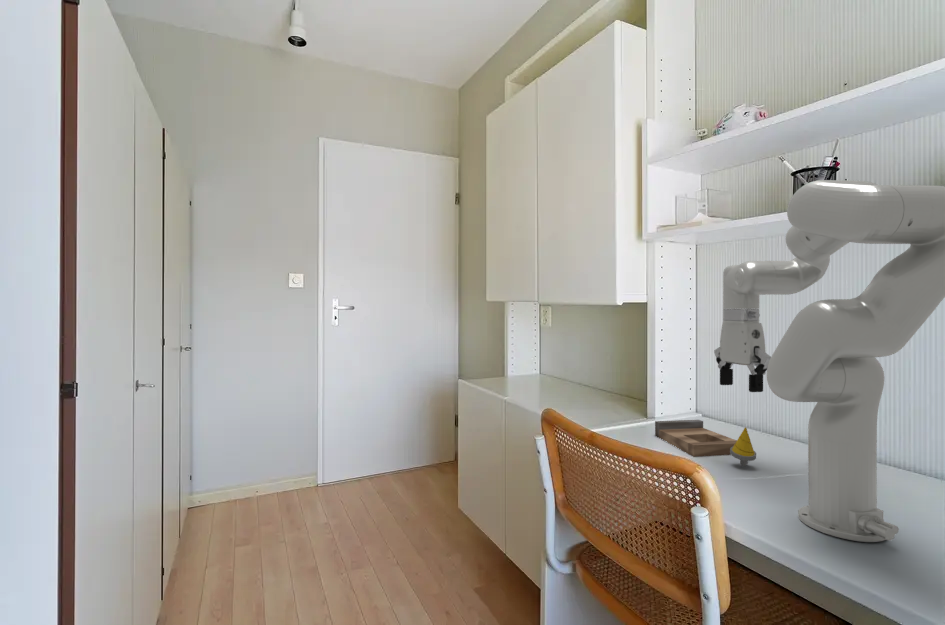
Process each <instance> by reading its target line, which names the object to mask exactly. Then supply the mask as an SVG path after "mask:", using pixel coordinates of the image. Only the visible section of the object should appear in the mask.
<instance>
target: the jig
mask: <svg viewBox="0 0 945 625" xmlns="http://www.w3.org/2000/svg"><path fill="white" fill-rule="evenodd" d="M656 436H657V438H658V437H659V438H658V439H660V438H661V439H660V440H662V439H663V440H662V441H664V440H665V441H667V442H668V443H667V442H666V443H667V444H669V443H670V445H671V444H672V445H671V446H673V445H674V446H673V447H675V446H676V447H677V448H676V447H675V448H676V449H678V448H679V449H678V450H680V449H681V450H680V451H682V452H683V453H685V452H686V454H687V453H688V454H687V455H690V456H691V457H693V458H698V457H714V456H715V457H716V456H732V455H731V454H730V448H731V447H733V446H734V445H735V443H736V442H737V440H738V439H737V440H736V439H733V438H731V437H728V436H726V435H723V434H721V433H718V432H716V431H712V430H709V429H707V428H704V420H701V419H684V420H683V419H681V420H678V419H677V420H676V419H675V420H655V421H654V437H656ZM665 441H664V442H665Z"/></svg>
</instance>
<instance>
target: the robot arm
mask: <svg viewBox="0 0 945 625" xmlns="http://www.w3.org/2000/svg"><path fill="white" fill-rule="evenodd" d="M787 205H788V206H787V210H786V216H787V219H788V221H789V223H790V225H791V227H789V229H787V233H786V234H785V245H786V246H787V247H786V248H788V250H789V251H790V253H791V254H792V255H793V256H794V257H795V258H793V259H791V260H749V261H743V262H741V263H739V264H732V265H728V266H726V267H725V268H724V269H723V274H722V289H723V290H722V294H723V295H722V325H721V329H720V338H719V347H717V348H715V349H714V351H713V353H714V355H715V361H716V363H717V364H718V365H717V368H718V369H719V385H721V386H732V385H733V384H734V369H733V368H732V367H733V365H740V366H746V367H747V368H748V370H749V371H750V373H751V374H748V391H749V393H762V392H764V375H766V381H767V385H768V387H769V389H770V390H771V391H772V393H773V394H774V395H775V396H776V397H778V398H780V399H782V400H783V401H788V402H792V403H793V402H794V403H795V402H796V403H816V404H815V405H814V407H813V409H812V411H811V414H810V416H809V419H808V424H807V425H808V428H807V434H808V435H807V436H808V437H807V442H808V443H807V447H808V449H807V450H808V451H807V452H808V453H807V456H808V460H807V461H808V465H807V466H808V468H807V469H808V472H807V473H808V475H807V476H808V480H807V481H808V505H804V506H802V507H799V509H798V510H797V511H798V512H797V517H798V518H799V520H800V521H801V523H803V524H804V525H806V526H808V527H810V528H812V529H813V530H815V531H818V532H820V533H823V534H826V535H828V536H832V537H836V538H839V539H844V540H849V541H855V542H861V543H879V542H884V541H892V540H894V539H895V537H896V535H897V534H898V533H899V530H900V528H899V526H898V525H895V524H893V523H891V522H888V521H885V519H884V510H882V509H879V508H878V484H877V483H878V482H877V481H878V478H877V476H878V471H877V470H878V467H877V466H878V463H877V462H878V457H877V456H878V451H877V450H878V449H877V447H878V446H877V442H878V434H877V433H878V415H879V414H878V412H879V406H880V403H881V398H882V394H883V390H884V386H885V373H884V372H885V371H884V367H883V366H882V364H881V363H880V361H879V360H878V359H877V358H884V357H890V356H892V355H894V354H896V353H898V352H900V351H901V350H902V349H903V348H904V347H905V346H906V345H907V344H908V342H909V341H910V340H911V339H912V338H913V336H914V335H915V334H916V333H917V332H918V331H919V329H920V328H921V327H922V326H923V324H925V323H926V321H927V319H928V318H930V317H931V315H932V314H933V312H934V311H935V310H936V309H937V308H938V306H939V305H940V304H941V303H942V301H944V299H945V185H944V186H943V185H927V184H926V185H923V184H921V185H918V184H917V185H916V184H913V185H910V184H909V185H903V184H902V185H901V184H900V185H899V184H877V183H876V182H875V183H874V182H871V181H865V180H850V179H849V180H839V179H838V180H836V179H835V180H834V179H833V180H831V179H823V180H822V179H819V180H814V181H811V182H807V183H806V184H804V185H801V187H799V188H798V189H797V190H796V191H795V192H794V193H793V195H792V196H791V198H790V200H789V202H788V204H787ZM849 243H854V244H855V243H856V244H868V245H872V244H874V245H876V244H877V245H910V246H909V247H908V249H906V250H904V252H902V253H900V254H898V255H897V256H896V257H894V258H892V259H891V260H890V261H888V262H887V263H886V264H884V265H883V266H882V267H881V268H880V269H879V270H878V271H877V272H876V274H874V276H873V277H872V280H870V282H869V284H868V285H867V287H866V288H865V289H864V290H863V291H862V292H861V293H860V294H859V295H858V296H855V297H853V298H848V299H847V298H846V299H845V298H844V299H843V298H841V299H838V298H836V299H834V298H833V299H828V298H827V299H822V300H817V301H813V302H811V303H809V304H808V305H806V306H805V307H803V308H802V309H800V311H799V312H798V313H797V314H796V315H795V317H794V319H793V320H792V321H791V323H790V324H789V326H788V328H787V329H786V331H785V333H784V335H783V336H782V338H781V339H780V341H779V343H778V344H777V346H776V347H775V350H774V351H773V352H772V355H769V354H768V353H767V352H766V340H765V333H764V328H763V324H762V322H760V316H761V314H760V296H763V295H767V296H768V295H772V296H773V295H775V296H776V295H779V296H780V295H781V296H783V295H784V296H785V295H787V296H788V295H789V296H790V295H793V294H798V293H800V292H802V291H804V290H806V289H808V288H809V287H811V286H813V285H815V283H817V282H818V281H820V280H821V279H822V278H823V277H824V276H825V274H826V272H827V270H828V267H829V265H830V259H831V255H833V254H835V253H836V252H837V251H839V250H840V249H841V248H843V247H845V246H846V245H848V244H849Z"/></svg>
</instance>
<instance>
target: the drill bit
mask: <svg viewBox="0 0 945 625" xmlns="http://www.w3.org/2000/svg"><path fill="white" fill-rule="evenodd" d="M749 434H750V433H749V431H748V429H747V427H744V429H743V430H742V432H741V433H740V435H739V437H738V438H737V442H736V443H735V445H734V446H733V447H731V448H730V454H731V455H730V456H732V458H733V457H734V458H735V459H737V460H739V463H740V466H741V467H744V466H745V467H748V463H749V462H751V461H755V460H756V459H757V452H756V451H755V450H754V447H753V444H752V441H751V438H750V435H749Z"/></svg>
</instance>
